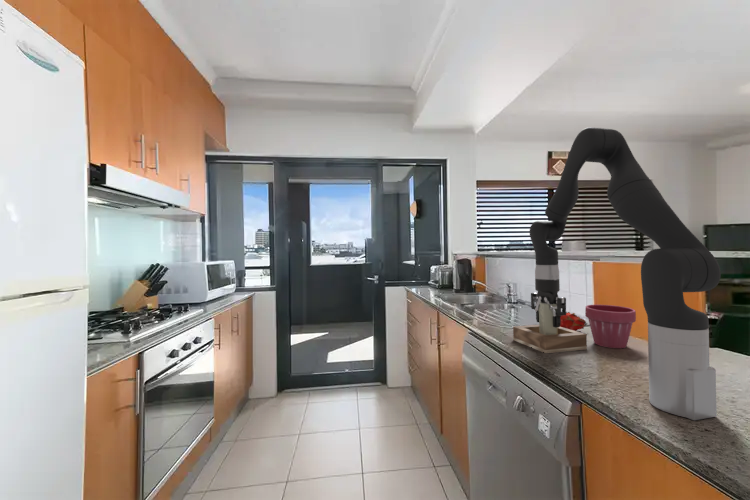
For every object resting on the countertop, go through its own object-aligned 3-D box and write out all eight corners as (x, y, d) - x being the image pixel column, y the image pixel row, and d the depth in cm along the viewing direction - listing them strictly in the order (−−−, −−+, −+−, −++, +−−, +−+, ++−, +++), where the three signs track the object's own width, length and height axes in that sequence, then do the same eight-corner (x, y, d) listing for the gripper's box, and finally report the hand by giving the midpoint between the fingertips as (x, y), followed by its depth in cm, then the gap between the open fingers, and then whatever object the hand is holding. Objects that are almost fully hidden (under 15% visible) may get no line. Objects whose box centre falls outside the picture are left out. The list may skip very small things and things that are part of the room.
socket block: (586, 349, 106) (586, 334, 106) (545, 353, 102) (545, 337, 102) (550, 336, 122) (549, 323, 122) (513, 340, 118) (513, 326, 118)
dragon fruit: (550, 333, 133) (584, 340, 128) (553, 324, 127) (589, 332, 121) (552, 314, 137) (585, 321, 132) (555, 305, 131) (590, 312, 126)
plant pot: (645, 352, 102) (644, 312, 102) (593, 349, 106) (593, 310, 106) (625, 340, 115) (624, 305, 115) (580, 337, 120) (580, 303, 120)
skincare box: (558, 340, 108) (557, 304, 108) (544, 339, 109) (543, 304, 109) (551, 335, 115) (551, 301, 115) (538, 334, 115) (537, 301, 115)
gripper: (523, 276, 118) (524, 321, 118) (553, 279, 104) (554, 330, 104) (541, 275, 120) (542, 319, 120) (572, 278, 106) (573, 328, 106)
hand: (547, 324), depth 112 cm, fingers closed on skincare box, 7 cm apart
